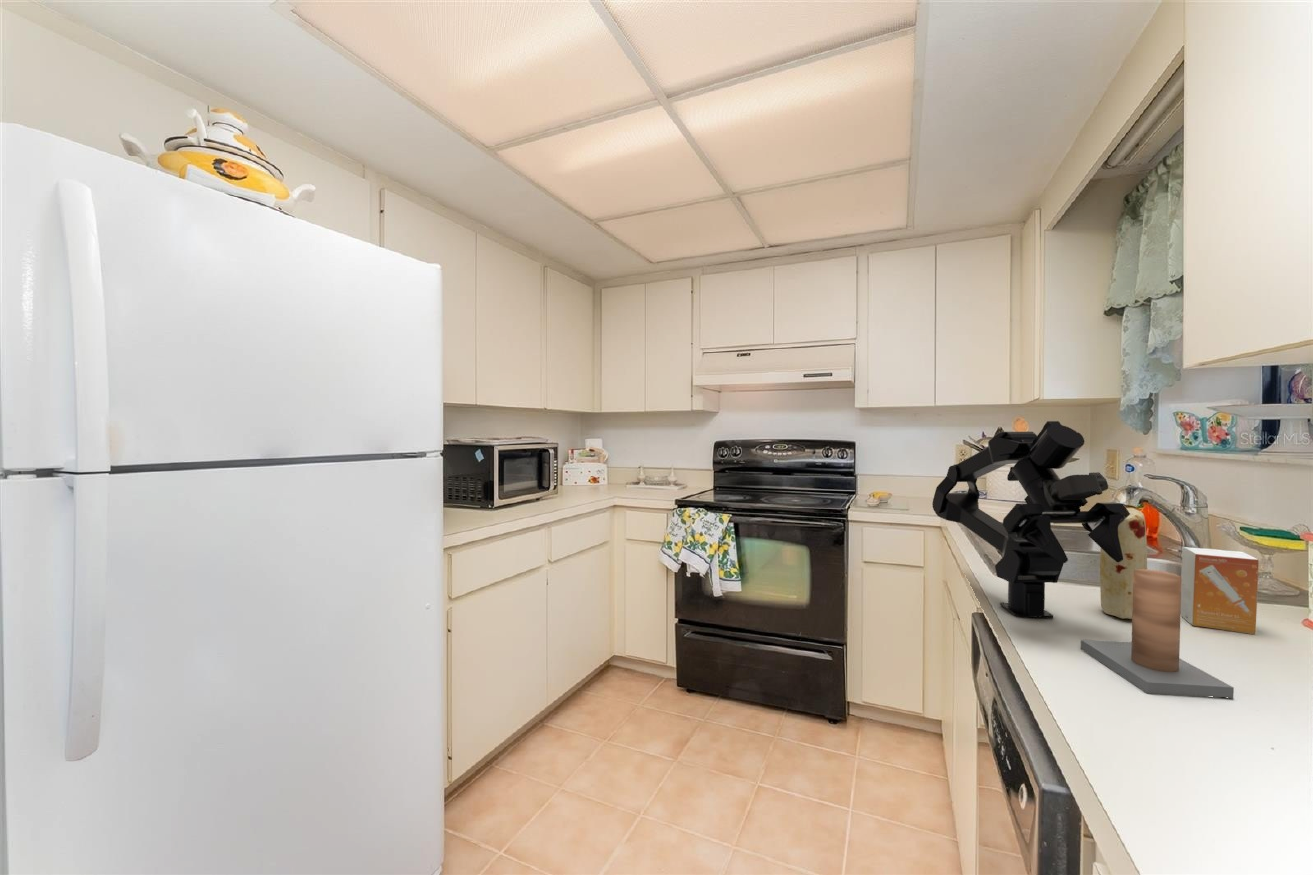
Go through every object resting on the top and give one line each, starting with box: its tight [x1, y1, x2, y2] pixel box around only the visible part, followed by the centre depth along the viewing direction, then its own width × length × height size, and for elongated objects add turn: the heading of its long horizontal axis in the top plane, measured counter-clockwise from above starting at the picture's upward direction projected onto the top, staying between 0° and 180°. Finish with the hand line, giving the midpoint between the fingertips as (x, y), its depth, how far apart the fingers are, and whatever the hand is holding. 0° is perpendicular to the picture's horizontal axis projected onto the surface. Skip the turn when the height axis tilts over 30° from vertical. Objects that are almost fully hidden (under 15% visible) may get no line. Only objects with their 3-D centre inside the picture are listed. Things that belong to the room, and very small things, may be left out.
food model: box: [1099, 507, 1148, 620], centre depth 99 cm, size 10×7×20 cm
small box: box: [1180, 546, 1260, 635], centre depth 95 cm, size 8×6×13 cm
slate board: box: [1080, 639, 1235, 699], centre depth 77 cm, size 14×10×2 cm
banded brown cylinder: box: [1131, 568, 1182, 672], centre depth 76 cm, size 5×5×13 cm
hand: (1093, 561), depth 86 cm, fingers open, 9 cm apart
